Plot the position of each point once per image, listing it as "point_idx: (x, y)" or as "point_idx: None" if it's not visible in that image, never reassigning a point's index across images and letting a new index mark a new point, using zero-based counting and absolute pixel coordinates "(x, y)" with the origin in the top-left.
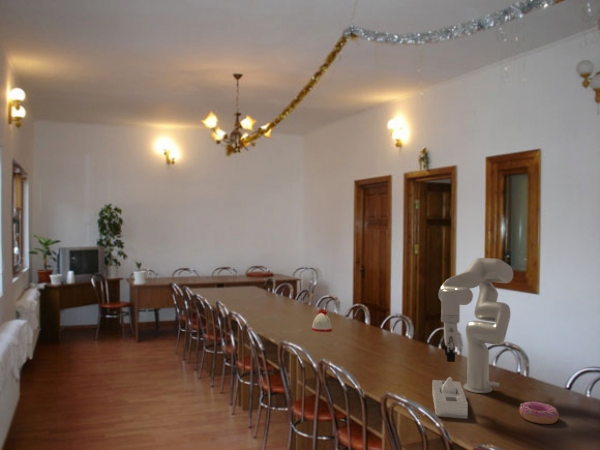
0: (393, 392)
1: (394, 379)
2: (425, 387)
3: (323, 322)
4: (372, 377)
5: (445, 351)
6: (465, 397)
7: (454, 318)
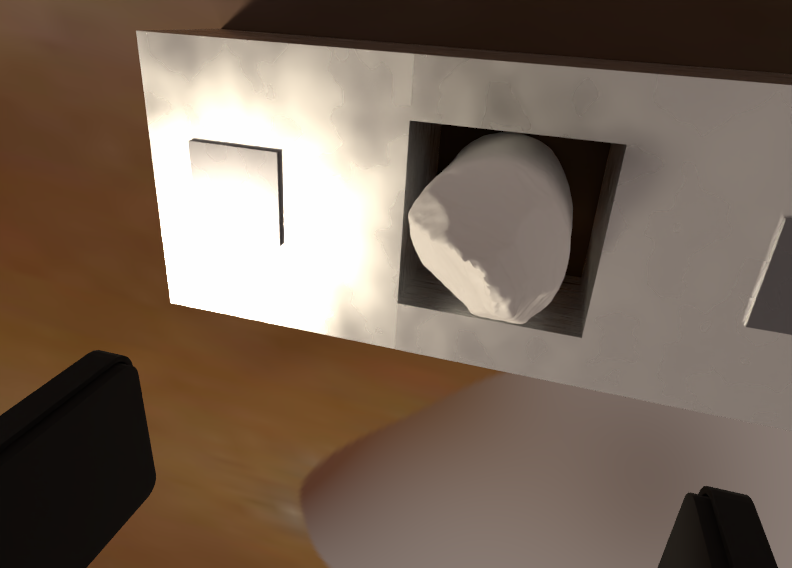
0: (293, 492)
1: None
2: (124, 275)
3: None
4: None
5: (81, 552)
6: (774, 85)
7: None
